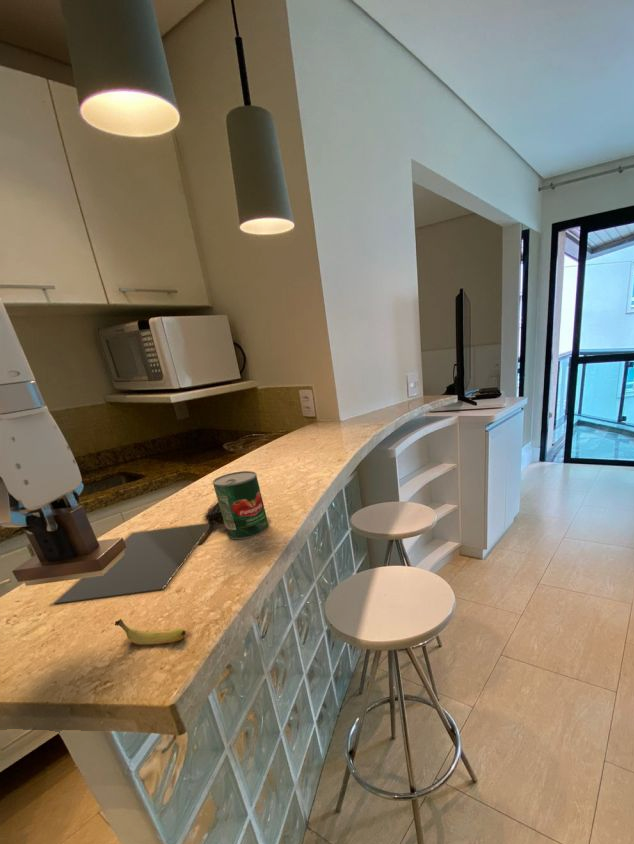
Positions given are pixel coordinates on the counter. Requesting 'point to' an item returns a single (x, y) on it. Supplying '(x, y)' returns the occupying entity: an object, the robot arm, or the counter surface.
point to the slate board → (142, 564)
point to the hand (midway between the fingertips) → (69, 552)
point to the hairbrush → (214, 512)
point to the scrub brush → (89, 552)
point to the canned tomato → (241, 504)
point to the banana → (151, 635)
